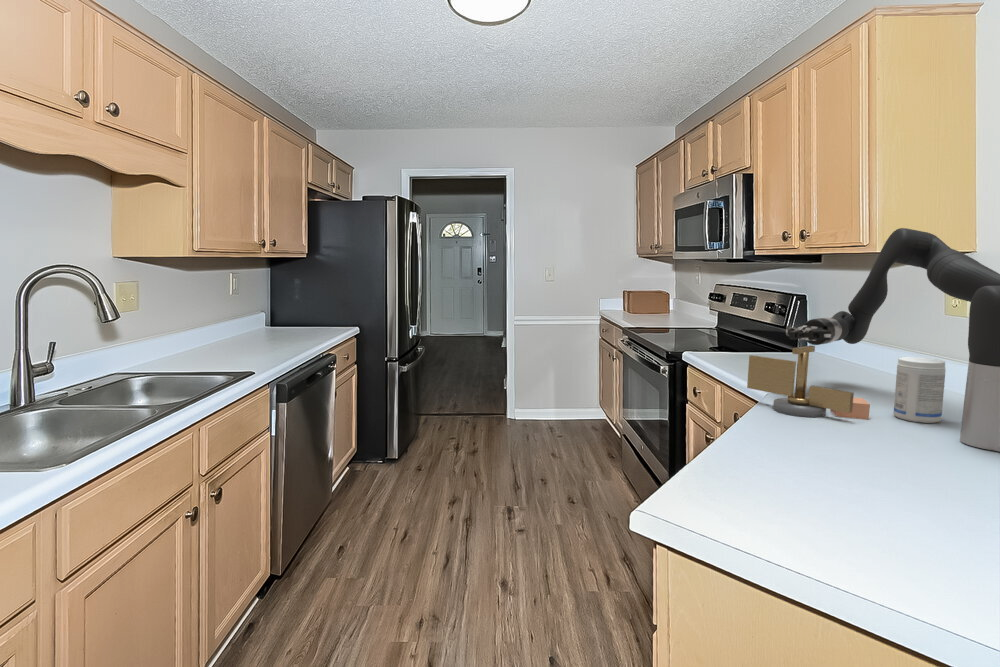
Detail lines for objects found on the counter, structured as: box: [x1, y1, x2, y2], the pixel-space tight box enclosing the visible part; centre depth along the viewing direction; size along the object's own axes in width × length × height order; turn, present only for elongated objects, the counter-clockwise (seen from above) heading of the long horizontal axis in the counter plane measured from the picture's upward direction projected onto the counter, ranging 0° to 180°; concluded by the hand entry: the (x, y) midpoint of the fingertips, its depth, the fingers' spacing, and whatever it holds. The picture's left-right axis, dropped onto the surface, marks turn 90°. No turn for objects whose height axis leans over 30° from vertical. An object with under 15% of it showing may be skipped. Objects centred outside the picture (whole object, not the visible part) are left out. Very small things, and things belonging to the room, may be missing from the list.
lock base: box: [772, 397, 827, 418], centre depth 147 cm, size 12×12×2 cm
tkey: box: [746, 345, 855, 413], centre depth 147 cm, size 26×9×14 cm, turn 37°
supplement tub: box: [893, 356, 946, 424], centre depth 141 cm, size 10×10×15 cm
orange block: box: [830, 396, 871, 420], centre depth 145 cm, size 7×7×4 cm
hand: (792, 335), depth 158 cm, fingers closed
